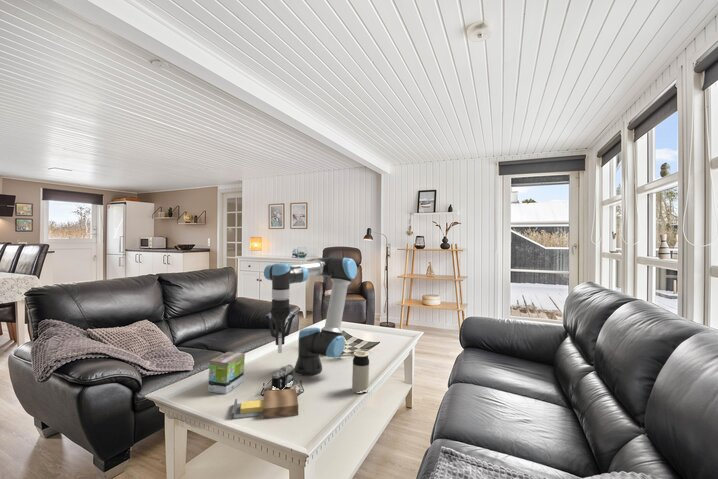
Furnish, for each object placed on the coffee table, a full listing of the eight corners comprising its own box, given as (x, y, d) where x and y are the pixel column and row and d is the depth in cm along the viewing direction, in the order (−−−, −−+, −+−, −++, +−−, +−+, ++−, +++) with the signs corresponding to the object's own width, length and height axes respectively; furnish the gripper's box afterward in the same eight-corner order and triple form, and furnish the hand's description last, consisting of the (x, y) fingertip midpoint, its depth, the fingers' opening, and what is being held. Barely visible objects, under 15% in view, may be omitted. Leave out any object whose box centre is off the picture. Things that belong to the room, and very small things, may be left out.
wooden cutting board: (295, 397, 152) (295, 388, 152) (298, 414, 136) (298, 405, 136) (263, 400, 148) (264, 391, 148) (262, 418, 133) (263, 408, 133)
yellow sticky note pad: (263, 404, 143) (263, 399, 143) (263, 411, 138) (263, 406, 138) (241, 406, 141) (241, 402, 141) (240, 413, 135) (240, 408, 135)
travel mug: (356, 395, 155) (357, 356, 155) (349, 388, 162) (350, 351, 162) (371, 392, 159) (372, 354, 159) (363, 385, 166) (364, 349, 166)
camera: (282, 395, 153) (282, 374, 153) (269, 392, 156) (270, 371, 156) (298, 383, 167) (299, 363, 167) (287, 381, 169) (288, 361, 170)
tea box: (226, 394, 153) (227, 362, 153) (207, 392, 155) (208, 360, 155) (244, 381, 168) (245, 352, 168) (226, 379, 170) (227, 350, 170)
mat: (263, 402, 146) (264, 396, 146) (263, 416, 135) (263, 409, 135) (235, 404, 143) (235, 399, 143) (231, 419, 132) (231, 412, 132)
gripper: (294, 296, 151) (294, 348, 151) (265, 297, 148) (264, 350, 148) (296, 299, 144) (295, 353, 144) (265, 300, 140) (264, 356, 140)
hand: (279, 352), depth 146 cm, fingers closed
